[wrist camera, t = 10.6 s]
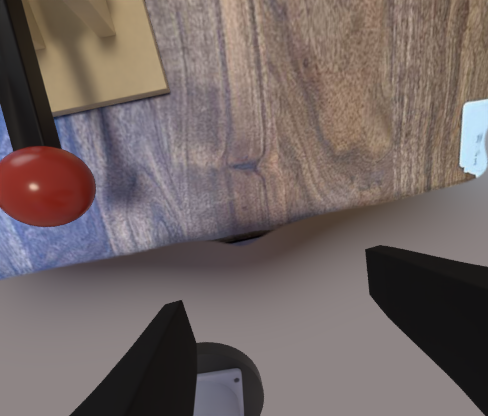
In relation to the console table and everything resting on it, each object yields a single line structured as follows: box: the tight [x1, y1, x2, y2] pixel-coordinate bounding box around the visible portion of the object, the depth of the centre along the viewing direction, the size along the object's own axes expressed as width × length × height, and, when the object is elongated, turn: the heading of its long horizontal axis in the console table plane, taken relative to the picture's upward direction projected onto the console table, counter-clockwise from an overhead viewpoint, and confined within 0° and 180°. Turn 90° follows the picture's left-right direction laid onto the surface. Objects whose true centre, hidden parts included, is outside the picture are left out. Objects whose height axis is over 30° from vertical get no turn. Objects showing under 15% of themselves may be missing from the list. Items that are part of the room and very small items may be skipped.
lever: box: [0, 0, 96, 227], centre depth 9 cm, size 13×3×3 cm, turn 13°
